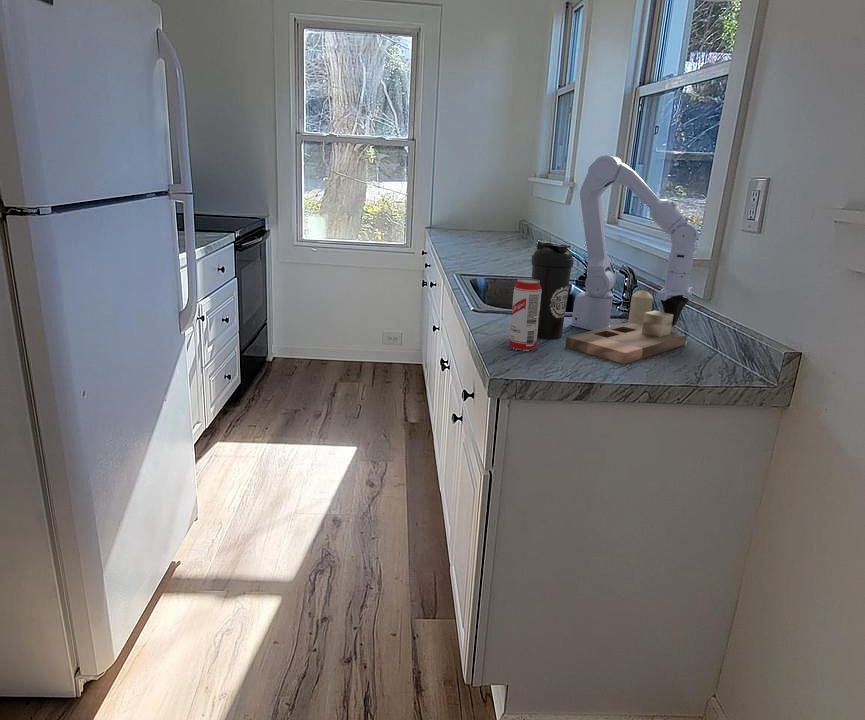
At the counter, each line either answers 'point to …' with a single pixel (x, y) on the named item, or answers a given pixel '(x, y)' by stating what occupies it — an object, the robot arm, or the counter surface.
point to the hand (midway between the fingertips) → (670, 324)
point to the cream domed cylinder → (640, 306)
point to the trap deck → (623, 342)
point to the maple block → (657, 323)
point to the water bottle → (552, 286)
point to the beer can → (525, 314)
